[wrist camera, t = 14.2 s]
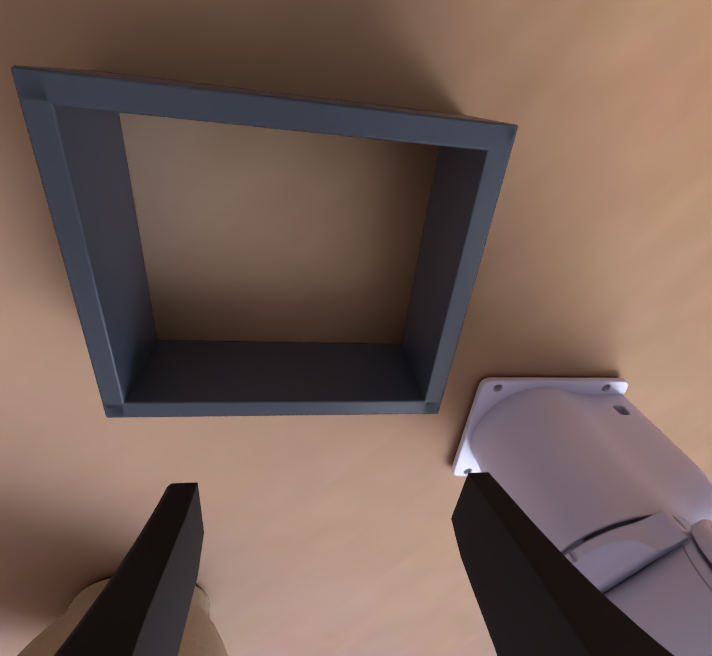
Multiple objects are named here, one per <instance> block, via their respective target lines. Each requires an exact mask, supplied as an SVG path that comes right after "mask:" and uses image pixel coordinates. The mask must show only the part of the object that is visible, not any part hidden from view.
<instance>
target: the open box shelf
mask: <svg viewBox="0 0 712 656" xmlns="http://www.w3.org/2000/svg"><path fill="white" fill-rule="evenodd" d="M11 71H12V75H13V78H14V82H15V86H16V89H17V93H18V97H19V100H20V104H21V107H22V111H23V115H24V118H25V122H26V126H27V129H28V133H29V137H30V140H31V144H32V148H33V151H34V155H35V158H36V162H37V166H38V169H39V173H40V177H41V180H42V184H43V188H44V191H45V195H46V199H47V202H48V206H49V209H50V213H51V217H52V220H53V224H54V228H55V231H56V235H57V239H58V242H59V246H60V250H61V253H62V257H63V261H64V264H65V268H66V271H67V275H68V279H69V282H70V286H71V290H72V293H73V297H74V301H75V304H76V308H77V312H78V315H79V319H80V322H81V326H82V330H83V333H84V337H85V341H86V344H87V348H88V352H89V355H90V359H91V363H92V366H93V370H94V373H95V377H96V381H97V384H98V388H99V392H100V395H101V399H102V403H103V407H104V410H105V414H106V417H108V418H111V417H193V416H276V415H358V414H438V412H439V408H440V404H441V401H442V397H443V394H444V390H445V386H446V383H447V379H448V376H449V372H450V369H451V365H452V361H453V358H454V354H455V351H456V347H457V343H458V340H459V336H460V333H461V329H462V325H463V322H464V318H465V315H466V311H467V307H468V304H469V300H470V297H471V293H472V290H473V286H474V282H475V279H476V275H477V272H478V268H479V264H480V261H481V257H482V254H483V250H484V246H485V243H486V239H487V236H488V232H489V228H490V225H491V221H492V218H493V214H494V211H495V207H496V203H497V200H498V196H499V193H500V189H501V185H502V182H503V178H504V175H505V171H506V167H507V164H508V160H509V157H510V153H511V149H512V146H513V142H514V139H515V135H516V132H517V128H518V126H517V125H515V124H509V123H504V122H498V121H493V120H488V119H482V118H477V117H471V116H466V115H459V114H450V113H442V112H433V111H425V110H417V109H408V108H400V107H392V106H383V105H375V104H367V103H358V102H350V101H342V100H333V99H325V98H317V97H308V96H300V95H292V94H283V93H275V92H267V91H258V90H250V89H242V88H233V87H225V86H217V85H208V84H200V83H192V82H183V81H175V80H167V79H158V78H150V77H141V76H133V75H125V74H116V73H108V72H100V71H91V70H78V69H62V68H47V67H31V66H16V65H14V66H12V67H11ZM119 112H121V113H130V114H140V115H149V116H159V117H168V118H178V119H187V120H197V121H206V122H216V123H225V124H235V125H245V126H254V127H264V128H273V129H283V130H292V131H302V132H311V133H321V134H330V135H340V136H349V137H359V138H368V139H378V140H387V141H397V142H406V143H416V144H425V145H435V146H440V149H439V154H438V159H437V164H436V169H435V174H434V179H433V185H432V190H431V195H430V200H429V205H428V210H427V215H426V220H425V226H424V231H423V236H422V241H421V246H420V251H419V256H418V261H417V267H416V272H415V277H414V282H413V287H412V292H411V297H410V302H409V308H408V313H407V318H406V323H405V328H404V333H403V338H402V343H401V344H346V343H289V342H233V341H177V340H157V337H156V331H155V325H154V319H153V313H152V307H151V301H150V295H149V289H148V283H147V277H146V271H145V265H144V259H143V253H142V248H141V242H140V236H139V230H138V224H137V218H136V212H135V206H134V200H133V194H132V188H131V182H130V176H129V170H128V164H127V158H126V152H125V146H124V140H123V135H122V129H121V123H120V117H119Z"/></svg>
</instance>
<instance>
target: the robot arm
mask: <svg viewBox="0 0 712 656" xmlns="http://www.w3.org/2000/svg"><path fill="white" fill-rule="evenodd" d="M496 385H498V386H497V387H495V386H496ZM627 387H628V383H627V382H626V381H625V380H624V379H623V378H542V377H488V378H485V379H483V380H482V381H481V382H480V384H479V386H478V389H477V392H476V395H475V398H474V401H473V404H472V407H471V410H470V413H469V416H468V420H467V423H466V426H465V429H464V432H463V435H462V438H461V441H460V444H459V447H458V450H457V453H456V456H455V459H454V462H453V465H452V469H451V470H452V472H453V474H454V475H455V476H467V478H466V481H465V483H464V486H463V489H462V491H461V494H460V497H459V499H458V502H457V505H456V507H455V510H454V513H453V515H452V518H451V519H452V523H453V527H454V532H455V536H456V540H457V544H458V547H459V551H460V555H461V558H462V561H463V564H464V567H465V570H466V572H467V575H468V578H469V580H470V583H471V586H472V589H473V591H474V594H475V597H476V599H477V602H478V605H479V607H480V610H481V613H482V615H483V618H484V620H485V623H486V626H487V628H488V631H489V634H490V636H491V639H492V642H493V644H494V647H495V650H496V653H497V656H712V484H711V483H710V481H709V479H708V478H707V477H706V475H705V474H704V473H703V471H702V470H701V469H700V468H699V467H698V466H697V465H696V464H695V463H694V462H693V461H692V460H691V459H690V458H689V457H688V456H687V455H686V454H684V453H683V452H682V451H681V450H680V449H679V448H678V447H677V446H676V445H675V444H674V443H673V442H672V441H671V440H670V439H669V438H668V437H667V436H665V435H664V434H663V433H662V432H661V431H660V430H659V429H658V428H657V427H656V426H655V425H654V424H653V423H652V422H651V421H650V420H649V419H647V418H646V417H645V416H644V415H643V414H642V413H641V412H640V411H639V410H638V409H637V408H636V407H635V406H634V405H633V404H632V403H631V402H630V401H628V400H627V399H626V398H625V397H624V396H623V395H624V393H625V391H626V389H627ZM203 535H204V529H203V521H202V514H201V506H200V498H199V490H198V483H173V484H170V485H169V486H168V487H167V488H166V490H165V492H164V494H163V496H162V498H161V499H160V501H159V503H158V505H157V507H156V508H155V510H154V512H153V513H152V515H151V517H150V518H149V520H148V522H147V523H146V525H145V527H144V528H143V530H142V531H141V533H140V535H139V536H138V538H137V539H136V541H135V543H134V544H133V546H132V547H131V549H130V550H129V552H128V553H127V555H126V556H125V558H124V559H123V561H122V562H121V564H120V565H119V567H118V568H117V570H116V571H115V573H114V574H113V576H112V577H111V579H110V580H109V582H108V583H107V584H106V586H105V587H104V589H103V590H102V591H101V593H100V594H99V596H98V597H97V598H96V600H95V601H94V602H93V604H92V605H91V607H90V608H89V609H88V611H87V612H86V613H85V615H84V616H83V618H82V619H81V620H80V622H79V623H78V624H77V626H76V627H75V628H74V630H73V631H72V632H71V634H70V635H69V636H68V638H67V639H66V640H65V641H64V643H63V644H62V645H61V647H60V648H59V649H58V650H57V652H56V653H55V654H54V656H178V653H179V649H180V645H181V641H182V637H183V633H184V629H185V625H186V621H187V617H188V613H189V609H190V605H191V601H192V597H193V592H194V588H195V584H196V580H197V576H198V569H199V563H200V556H201V549H202V542H203Z"/></svg>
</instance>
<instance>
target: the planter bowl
mask: <svg viewBox="0 0 712 656" xmlns="http://www.w3.org/2000/svg"><path fill="white" fill-rule="evenodd" d="M110 579H111V578H109V579H105V580H102V581H99V582H97V583H94V584H92V585H90V586H88V587H87V588H85V589H84V590H82V591H81V592H80V593H79V594H78V595H77V596H76V597H75V598H74V600H73V601H72V603H71V604H70V606H69V608H68V609H67V611H66V613H65V614H64V615H63V616H61V617H60V618H59V619H57V620H56V621H55V622H53V623H52V624H51V625H50V626H48V627H47V628H46V629H45V630H44V631H43V632H41V633H40V634H39V635H38V636H37V637H36V638H35V639H33V640H32V641H31V642H30V643H29V644H28V645H27V646H26V647H25V648H24V649H23V650H22V651H21V652H20V653H19V654H18V655H17V656H54V654H55V653H56V652H57V650H58V649H59V648H60V647H61V645H62V644H63V643H64V641H65V640H66V639H67V638H68V636H69V635H70V634H71V632H72V631H73V630H74V628H75V627H76V626H77V624H78V623H79V622H80V620H81V619H82V618H83V616H84V615H85V613H86V612H87V611H88V609H89V608H90V607H91V605H92V604H93V602H94V601H95V600H96V598H97V597H98V596H99V594H100V593H101V591H102V590H103V589H104V587H105V586H106V584H107V583H108V582H109V580H110ZM178 656H228V655H227V652H226V649H225V647H224V644H223V641H222V639H221V637H220V635H219V633H218V631H217V629H216V627H215V625H214V624H213V622H212V621H211V619H210V604H209V600H208V598H207V596H206V594H205V593H204V592H203V591H202V590H201V589H200V588H198V587H197V586H195V588H194V592H193V597H192V601H191V605H190V609H189V613H188V617H187V621H186V625H185V629H184V633H183V637H182V641H181V645H180V649H179V653H178Z"/></svg>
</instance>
